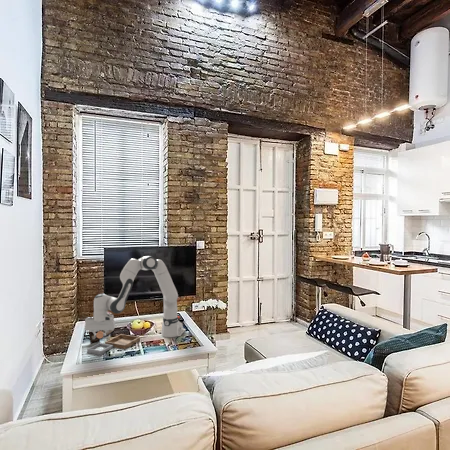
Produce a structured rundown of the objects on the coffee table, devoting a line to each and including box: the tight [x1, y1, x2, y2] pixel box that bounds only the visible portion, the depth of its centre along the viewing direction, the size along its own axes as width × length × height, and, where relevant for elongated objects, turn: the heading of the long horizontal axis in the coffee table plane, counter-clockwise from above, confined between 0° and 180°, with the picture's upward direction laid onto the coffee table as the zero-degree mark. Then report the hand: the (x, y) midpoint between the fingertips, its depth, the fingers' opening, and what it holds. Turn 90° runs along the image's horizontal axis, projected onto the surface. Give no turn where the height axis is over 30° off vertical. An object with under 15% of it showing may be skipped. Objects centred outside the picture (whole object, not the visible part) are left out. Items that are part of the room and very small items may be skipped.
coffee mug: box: [83, 330, 101, 345], centre depth 248 cm, size 12×9×10 cm
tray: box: [86, 342, 114, 356], centre depth 233 cm, size 12×12×3 cm
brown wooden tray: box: [104, 333, 141, 350], centre depth 245 cm, size 18×18×4 cm
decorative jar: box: [101, 311, 115, 336], centre depth 270 cm, size 12×12×18 cm
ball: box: [96, 331, 104, 339], centre depth 233 cm, size 5×5×5 cm
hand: (100, 336), depth 233 cm, fingers closed on ball, 5 cm apart
